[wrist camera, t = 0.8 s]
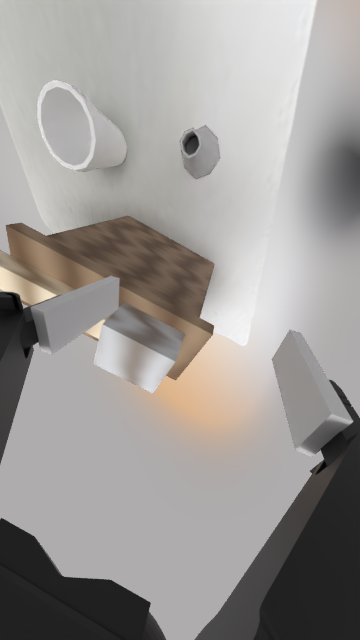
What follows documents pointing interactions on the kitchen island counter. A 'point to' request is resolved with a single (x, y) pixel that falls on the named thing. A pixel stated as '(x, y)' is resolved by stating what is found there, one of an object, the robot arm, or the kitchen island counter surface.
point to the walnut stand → (127, 272)
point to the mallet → (106, 328)
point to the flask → (199, 151)
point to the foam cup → (78, 129)
